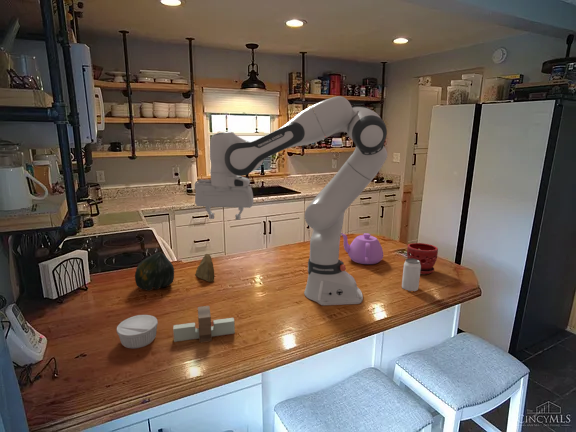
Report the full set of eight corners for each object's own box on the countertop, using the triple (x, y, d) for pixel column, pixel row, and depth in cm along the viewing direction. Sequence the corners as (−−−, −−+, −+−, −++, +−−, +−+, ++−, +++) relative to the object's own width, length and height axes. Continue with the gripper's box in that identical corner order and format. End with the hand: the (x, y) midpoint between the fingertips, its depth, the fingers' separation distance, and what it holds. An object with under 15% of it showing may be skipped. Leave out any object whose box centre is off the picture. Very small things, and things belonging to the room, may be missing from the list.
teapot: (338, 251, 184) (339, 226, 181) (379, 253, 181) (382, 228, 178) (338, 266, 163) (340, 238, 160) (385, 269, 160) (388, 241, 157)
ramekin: (117, 355, 96) (115, 338, 95) (118, 334, 106) (117, 318, 105) (159, 346, 101) (158, 329, 99) (157, 326, 110) (156, 311, 109)
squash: (121, 275, 135) (138, 252, 129) (151, 264, 148) (168, 243, 142) (142, 304, 133) (160, 281, 126) (171, 290, 146) (188, 269, 140)
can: (420, 288, 141) (424, 260, 138) (414, 293, 137) (417, 265, 134) (405, 283, 146) (408, 256, 143) (398, 288, 141) (401, 260, 138)
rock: (220, 276, 143) (220, 265, 152) (207, 263, 140) (207, 251, 149) (200, 291, 144) (200, 279, 153) (186, 278, 140) (187, 266, 149)
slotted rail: (233, 329, 109) (233, 317, 108) (234, 333, 107) (234, 321, 106) (174, 337, 104) (173, 325, 104) (174, 341, 102) (173, 329, 101)
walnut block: (198, 329, 109) (197, 306, 107) (210, 328, 110) (209, 305, 108) (199, 342, 102) (198, 318, 100) (211, 340, 103) (210, 316, 101)
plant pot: (441, 272, 158) (444, 247, 155) (423, 278, 151) (426, 252, 148) (416, 263, 169) (419, 240, 166) (399, 268, 161) (401, 244, 159)
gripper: (191, 180, 116) (193, 220, 119) (251, 182, 115) (251, 222, 118) (197, 178, 122) (199, 215, 126) (254, 179, 121) (254, 217, 124)
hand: (224, 219), depth 122 cm, fingers open, 8 cm apart
